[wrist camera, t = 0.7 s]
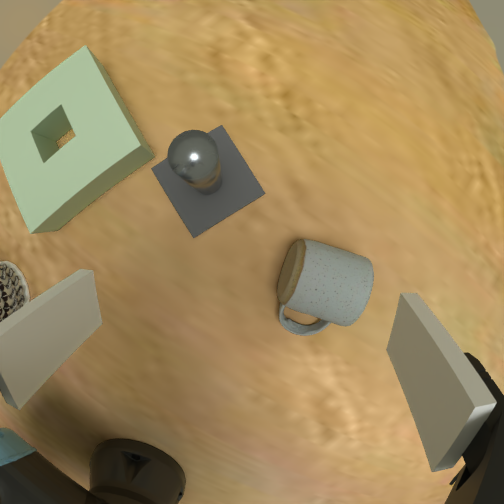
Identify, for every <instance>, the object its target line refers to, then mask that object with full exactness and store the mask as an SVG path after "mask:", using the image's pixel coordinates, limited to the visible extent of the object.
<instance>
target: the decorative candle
mask: <svg viewBox="0 0 504 504" xmlns="http://www.w3.org/2000/svg"><path fill="white" fill-rule="evenodd" d="M29 302H30V294H29V288H28V284H27V281H26V279H25V277H24V275H23V273H22V272H21V271H20V269H19V268H18V267H17V266H16V265H15V264H13V263H11V262H9V261H1V262H0V322H1V321H3V320H4V319H5V318H7V317H8V316H10V315H11V314H13V313H14V312H15V311H17V310H18V309H20V308H21V307H23V306H24V305H26V304H27V303H29Z"/></svg>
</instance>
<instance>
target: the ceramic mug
mask: <svg viewBox="0 0 504 504" xmlns="http://www.w3.org/2000/svg"><path fill="white" fill-rule="evenodd" d="M373 281H374V272H373V266H372V263H371V261H370V260H369V259H368V258H366V257H363V256H360V255H357V254H354V253H351V252H348V251H345V250H342V249H339V248H335V247H332V246H329V245H326V244H323V243H320V242H317V241H313V240H307V239H300V240H298V241H296V242H295V243H294V244H293V245H292V246H291V248H290V250H289V252H288V254H287V257H286V259H285V262H284V264H283V267H282V270H281V274H280V278H279V282H278V288H277V297H278V299H279V301H280V307H279V319H280V322H281V324H282V326H283V327H284V328H285V329H286V330H288V331H290V332H291V333H294V334H297V335H303V336H307V335H313V334H316V333H318V332H320V331H322V330H323V329H325V328H326V327H327V326H328V325H329V324H330V323H334V324H337V325H341V326H350V325H351V324H353V323H354V322H355V321H356V320H357V319H358V318H359V317H360V315H361V314H362V312H363V311H364V309H365V307H366V305H367V303H368V300H369V298H370V294H371V291H372V287H373ZM285 306H287V307H288V308H290V309H293V310H295V311H298V312H301V313H305V314H309V315H312V316H314V317H317V318H320V319H322V320H321V321H319V322H318V323H315V324H312V325H308V326H307V325H301V324H298V323H296V322H293V321H292V320H291V319H287V318H286V317H285V316H284V313H283V311H284V308H285Z"/></svg>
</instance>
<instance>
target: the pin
mask: <svg viewBox="0 0 504 504" xmlns="http://www.w3.org/2000/svg"><path fill="white" fill-rule="evenodd" d="M168 162H169V165H170V167H171V169H172V170H173V171H174V172H175V173H176V174H177V175H178V176H179V177H181V178H182V179H183V180H184V181H185V182H187V183H188V184H189V185H190V186H191V187H193V188H194V189H195V190H196V191H197V192H199V193H201V194H203V195H210V194H213V193H215V192H217V191H218V190H219V188H220V187H221V184H222V174H221V167H220V160H219V154H218V148H217V145H216V143H215V141H214V139H213V138H212V137H211V136H210V135H208V134H207V133H205V132H203V131H199V130H189V131H185V132H183V133H181V134H179V135H178V136H177V137H176V138H175V139H174V140H173V141H172V143H171V144H170V146H169V149H168Z"/></svg>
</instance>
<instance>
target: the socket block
mask: <svg viewBox="0 0 504 504" xmlns="http://www.w3.org/2000/svg"><path fill="white" fill-rule="evenodd" d="M72 128H73V131H74V133H75V135H76V136H75V137H74V138H73V139H71V140H70V141H69V142H68V143H67V144H65V145H64V146H63V147H62V148H61V149H59V147H58V145H57V143H56V141H57V140H59V139H60V138H61V137H62V136H63V135H64V134H66V133H67V132H68V131H69V130H71V129H72ZM154 157H155V155H154V154H153V152H152V150H151V149H150V147H149V145H148V144H147V142H146V140H145V139H144V137H143V135H142V133H141V132H140V130H139V128H138V127H137V125H136V123H135V121H134V120H133V118H132V116H131V114H130V113H129V111H128V109H127V107H126V106H125V104H124V102H123V100H122V99H121V97H120V95H119V93H118V92H117V90H116V88H115V86H114V84H113V83H112V81H111V79H110V77H109V75H108V74H107V72H106V70H105V68H104V66H103V65H102V64H101V63H100V62H99V60H98V59H97V58H96V57H95V56H94V54H93V53H92V52H91V51H90V50H89V48H88V47H87V46H86V45H85V46H84V47H82V48H81V49H79V50H78V51H77V52H75V53H74V54H73V55H71V56H70V57H69V58H67V59H66V60H65V61H63V62H62V63H61V64H59V65H58V66H57V67H56V68H54V69H53V70H52V71H51V72H50V73H48V74H47V75H46V76H45V77H44V78H42V79H41V80H40V81H39V82H38V83H37V84H36V85H34V86H33V87H32V88H31V89H30V90H29V91H28V92H27V93H26V94H25V95H23V96H22V97H21V98H20V99H19V100H18V101H17V102H16V103H15V104H14V105H13V106H12V107H11V108H10V109H9V110H8V111H7V112H6V113H5V114H4V115H3V116H2V117H1V118H0V160H1V163H2V166H3V169H4V172H5V174H6V177H7V180H8V182H9V185H10V188H11V190H12V193H13V195H14V198H15V200H16V203H17V205H18V207H19V210H20V212H21V214H22V217H23V219H24V221H25V223H26V225H27V228H28V230H29V232H30V234H34V233H42V232H51V231H58V230H59V229H60V228H61V227H63V226H64V225H65V224H66V223H67V222H68V221H70V220H71V219H72V218H73V217H74V216H76V215H77V214H78V213H79V212H81V211H82V210H83V209H84V208H86V207H87V206H88V205H89V204H91V203H92V202H93V201H94V200H96V199H97V198H98V197H100V196H101V195H102V194H104V193H105V192H106V191H108V190H109V189H110V188H112V187H113V186H114V185H116V184H117V183H118V182H120V181H121V180H123V179H124V178H125V177H127V176H128V175H130V174H131V173H132V172H134V171H135V170H137V169H138V168H140V167H141V166H142V165H144V164H145V163H147V162H148V161H150V160H151V159H153V158H154Z"/></svg>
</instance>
